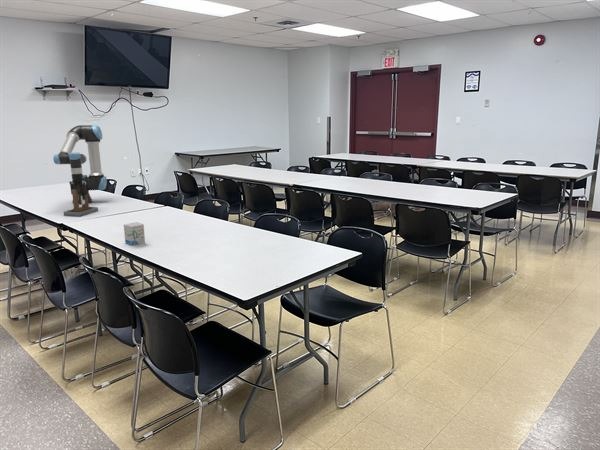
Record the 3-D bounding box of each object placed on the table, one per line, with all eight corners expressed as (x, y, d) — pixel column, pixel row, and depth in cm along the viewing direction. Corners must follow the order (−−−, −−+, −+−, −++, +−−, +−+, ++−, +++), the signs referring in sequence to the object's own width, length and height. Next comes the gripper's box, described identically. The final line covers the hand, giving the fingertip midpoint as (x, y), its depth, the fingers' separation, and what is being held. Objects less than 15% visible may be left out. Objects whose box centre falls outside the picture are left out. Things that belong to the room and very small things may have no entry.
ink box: (132, 245, 268) (130, 226, 265) (124, 243, 273) (123, 224, 270) (145, 242, 274) (144, 223, 271) (138, 240, 279) (136, 221, 276)
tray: (82, 210, 363) (82, 206, 363) (98, 210, 360) (98, 207, 360) (64, 215, 344) (63, 211, 343) (80, 216, 340) (79, 212, 340)
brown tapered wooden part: (89, 211, 355) (86, 188, 351) (76, 213, 347) (73, 190, 342) (86, 210, 357) (84, 187, 353) (73, 212, 349) (70, 189, 344)
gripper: (63, 173, 343) (66, 204, 348) (83, 174, 339) (87, 205, 344) (70, 172, 350) (73, 202, 355) (90, 173, 346) (93, 203, 352)
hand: (80, 203), depth 350 cm, fingers closed on brown tapered wooden part, 5 cm apart
